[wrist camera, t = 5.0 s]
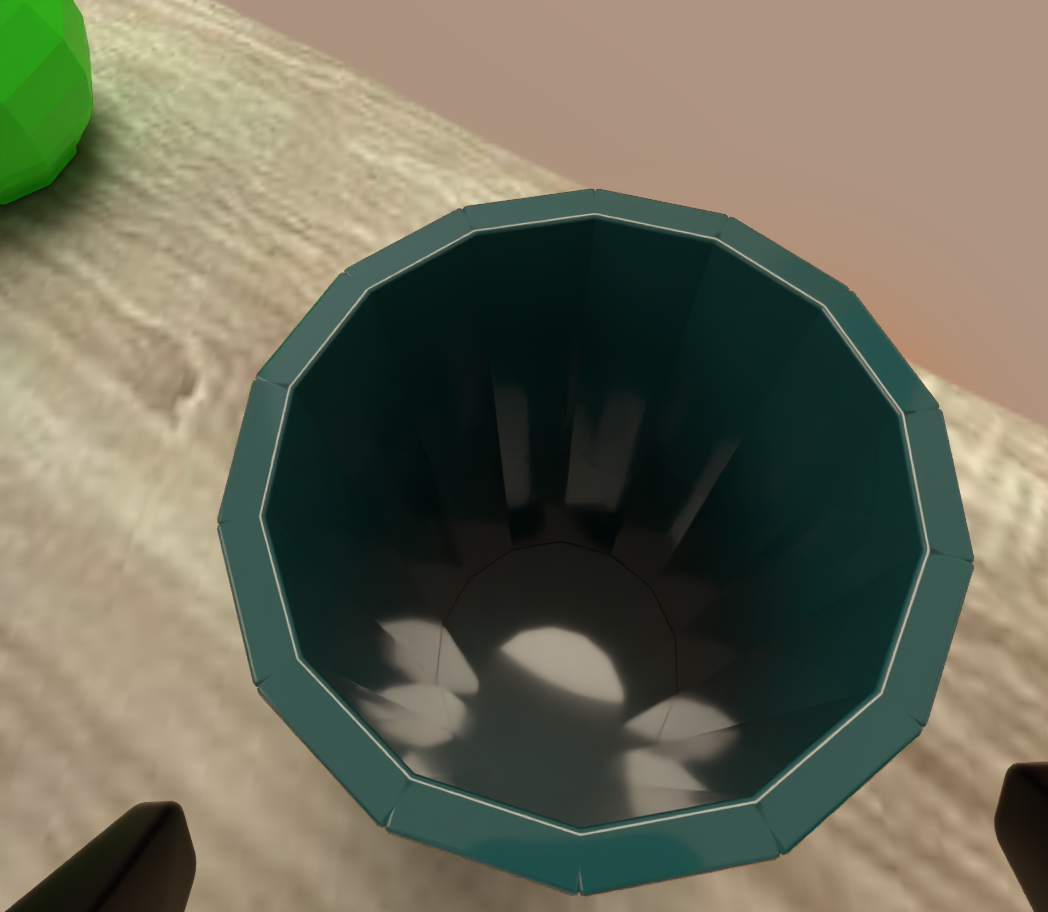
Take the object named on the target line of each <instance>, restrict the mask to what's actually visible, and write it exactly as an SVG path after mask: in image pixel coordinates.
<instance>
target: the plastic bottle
mask: <svg viewBox="0 0 1048 912" xmlns="http://www.w3.org/2000/svg"><path fill="white" fill-rule="evenodd" d="M92 106H93V99H92V81H91V63H90V51H89V46H88V41H87V36H86V30H85V25H84V20H83V16H82V14H81V13H80V11H79V9H78V8H77V6H76V4H75V3H74V1H73V0H0V205H6V204H8V203H10V202H12V201H15V200H17V199H19V198H21V197H24V196H26V195H28V194H30V193H32V192H35V191H37V190H39V189H41V188H44V187H46V186H48V185H50V184H51V183H52V182H53V181H54V180H55V178H56V177H57V176H58V175H59V174H60V172H61V171H62V170H63V169H64V168H65V166H66V165H67V164H68V163H69V162H70V160H71V159H72V158H73V157H74V156H75V155H76V153H77V151H76V144H77V143H78V142H79V140H80V138H81V136H82V133H83V131H84V129H85V128H86V126H87V125H88V123H89V120H90V115H91V111H92Z"/></svg>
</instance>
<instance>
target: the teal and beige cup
mask: <svg viewBox="0 0 1048 912" xmlns="http://www.w3.org/2000/svg"><path fill="white" fill-rule="evenodd" d="M218 524H219V525H218V528H217V532H218V536H219V540H220V544H221V549H222V553H223V557H224V561H225V566H226V570H227V574H228V578H229V583H230V587H231V591H232V595H233V600H234V604H235V608H236V613H237V617H238V621H239V625H240V630H241V634H242V638H243V642H244V647H245V651H246V655H247V659H248V664H249V668H250V672H251V676H252V681H253V684H254V685H255V686H256V687H258V688H257V690H258V693H259V695H260V696H261V697H262V698H263V700H264V701H265V702H266V703H267V704H268V705H269V706H270V707H271V708H272V710H273V711H274V712H275V713H276V714H277V715H278V716H279V717H280V718H281V720H282V721H283V722H284V723H285V724H286V725H287V726H288V727H289V728H290V730H291V731H292V732H293V733H294V734H295V735H296V736H297V737H298V738H299V740H300V741H301V742H302V743H303V744H304V745H305V746H306V747H307V748H308V750H309V751H310V752H311V753H312V754H313V755H314V756H315V757H316V758H317V759H318V761H319V762H320V763H321V764H322V765H323V766H324V767H325V768H326V769H327V771H328V772H329V773H330V774H331V775H332V776H333V777H334V778H335V779H336V781H337V782H338V783H339V784H340V785H341V786H342V787H343V788H344V789H345V791H346V792H347V793H348V794H349V795H350V796H351V797H352V798H353V799H354V801H355V802H356V803H357V804H358V805H359V806H360V807H361V808H362V809H363V811H364V812H365V813H366V814H367V815H368V816H369V817H370V818H371V819H372V821H373V822H374V823H375V824H376V825H377V826H379V827H381V828H384V827H385V830H386V831H387V832H388V833H389V834H392V835H395V836H397V837H400V838H403V839H406V840H409V841H412V842H415V843H418V844H421V845H424V846H427V847H430V848H433V849H436V850H438V851H441V852H444V853H447V854H450V855H453V856H456V857H459V858H462V859H465V860H468V861H471V862H474V863H476V864H479V865H482V866H485V867H488V868H491V869H494V870H497V871H500V872H503V873H506V874H509V875H512V876H514V877H517V878H520V879H523V880H526V881H529V882H532V883H535V884H538V885H541V886H544V887H547V888H550V889H553V890H555V891H558V892H561V893H564V894H567V895H570V896H575V895H578V893H579V894H580V895H581V896H584V897H589V896H594V895H599V894H604V893H609V892H615V891H620V890H625V889H630V888H635V887H641V886H646V885H651V884H656V883H661V882H666V881H672V880H677V879H682V878H687V877H692V876H697V875H703V874H708V873H713V872H718V871H723V870H728V869H734V868H739V867H744V866H749V865H754V864H759V863H765V862H770V861H775V860H776V859H778V858H779V857H780V855H786V854H789V853H790V852H791V851H792V850H793V849H794V848H795V847H796V846H798V845H799V844H800V843H801V842H802V841H803V840H804V839H805V838H806V837H807V836H809V835H810V834H811V833H812V832H813V831H814V830H815V829H816V828H817V827H819V826H820V825H821V824H822V823H823V822H824V821H825V820H826V819H827V818H829V817H830V816H831V815H832V814H833V813H834V812H835V811H836V810H837V809H839V808H840V807H841V806H842V805H843V804H844V803H845V802H846V801H847V800H849V799H850V798H851V797H852V796H853V795H854V794H855V793H856V792H857V791H859V790H860V789H861V788H862V787H863V786H864V785H865V784H866V783H867V782H868V781H870V780H871V779H872V778H873V777H874V776H875V775H876V774H877V773H878V772H880V771H881V770H882V769H883V768H884V767H885V766H886V765H887V764H888V763H890V762H891V761H892V760H893V759H894V758H895V757H896V756H897V755H898V754H900V753H901V752H902V751H903V750H904V749H905V748H906V747H907V746H908V745H910V744H911V743H912V742H913V741H914V740H915V739H916V738H917V737H918V736H920V734H921V732H922V730H923V729H922V728H924V727H925V725H926V724H927V722H928V719H929V716H930V712H931V709H932V706H933V702H934V699H935V695H936V692H937V689H938V685H939V682H940V679H941V675H942V672H943V669H944V665H945V662H946V659H947V655H948V652H949V649H950V645H951V642H952V639H953V635H954V632H955V629H956V625H957V622H958V619H959V615H960V612H961V609H962V605H963V602H964V599H965V595H966V592H967V589H968V585H969V582H970V579H971V575H972V572H973V569H974V567H973V564H972V563H973V561H974V555H973V551H972V546H971V541H970V537H969V532H968V527H967V523H966V518H965V514H964V509H963V504H962V500H961V495H960V490H959V486H958V481H957V477H956V472H955V467H954V463H953V458H952V453H951V449H950V444H949V440H948V435H947V430H946V426H945V421H944V416H943V412H942V411H941V410H940V409H939V404H938V402H937V401H936V400H935V398H934V397H933V396H932V394H931V393H930V392H929V391H928V389H927V388H926V387H925V385H924V384H923V383H922V381H921V380H920V379H919V377H918V376H917V375H916V373H915V372H914V371H913V369H912V368H911V367H910V365H909V364H908V363H907V362H906V360H905V359H904V358H903V356H902V355H901V354H900V352H899V351H898V350H897V348H896V347H895V346H894V344H893V343H892V342H891V340H890V339H889V338H888V337H887V335H886V334H885V333H884V331H883V330H882V329H881V327H880V326H879V325H878V324H877V322H876V321H875V320H874V318H873V317H872V315H871V314H870V313H869V311H868V310H867V309H866V307H865V306H864V305H863V304H862V302H861V301H860V300H859V298H858V297H857V296H856V294H855V293H854V292H853V291H849V288H848V287H847V286H846V285H844V284H843V283H841V282H839V281H838V280H836V279H834V278H833V277H831V276H829V275H828V274H826V273H824V272H823V271H821V270H819V269H818V268H816V267H814V266H813V265H811V264H810V263H808V262H806V261H805V260H803V259H801V258H800V257H798V256H796V255H795V254H793V253H791V252H790V251H788V250H786V249H785V248H783V247H781V246H780V245H778V244H777V243H775V242H773V241H771V240H770V239H768V238H767V237H765V236H763V235H762V234H760V233H758V232H757V231H755V230H753V229H752V228H750V227H748V226H747V225H745V224H743V223H742V222H740V221H738V220H737V219H735V218H733V217H729V218H728V216H727V215H725V214H721V213H716V212H711V211H706V210H701V209H696V208H691V207H686V206H681V205H676V204H671V203H666V202H661V201H657V200H652V199H647V198H642V197H637V196H632V195H627V194H622V193H617V192H612V191H607V190H602V189H597V190H596V191H595V190H594V189H585V190H578V191H571V192H564V193H557V194H549V195H542V196H535V197H528V198H521V199H514V200H506V201H499V202H492V203H485V204H478V205H470V206H466V207H464V208H463V209H461V208H460V209H457V210H455V211H453V212H451V213H449V214H447V215H445V216H443V217H442V218H440V219H438V220H436V221H434V222H432V223H430V224H429V225H427V226H425V227H423V228H421V229H419V230H417V231H415V232H414V233H412V234H410V235H408V236H406V237H404V238H402V239H400V240H399V241H397V242H395V243H393V244H391V245H389V246H387V247H386V248H384V249H382V250H380V251H378V252H376V253H374V254H372V255H371V256H369V257H367V258H365V259H363V260H361V261H359V262H357V263H356V264H354V265H352V266H350V267H348V268H347V269H346V270H345V272H344V273H340V274H339V275H338V277H337V278H336V279H335V280H334V281H333V283H332V284H331V285H330V286H329V287H328V289H327V290H326V291H325V292H324V294H323V295H322V296H321V297H320V298H319V300H318V301H317V302H316V303H315V304H314V306H313V307H312V308H311V309H310V311H309V312H308V313H307V314H306V315H305V317H304V318H303V319H302V320H301V321H300V323H299V324H298V325H297V326H296V327H295V329H294V330H293V331H292V332H291V334H290V335H289V336H288V337H287V338H286V340H285V341H284V342H283V343H282V344H281V346H280V347H279V348H278V349H277V351H276V352H275V353H274V354H273V355H272V357H271V358H270V359H269V360H268V361H267V363H266V364H265V365H264V366H263V367H262V369H261V370H260V371H259V372H258V374H257V375H256V380H254V381H253V383H252V386H251V390H250V394H249V398H248V402H247V405H246V409H245V413H244V417H243V421H242V425H241V429H240V433H239V437H238V441H237V444H236V448H235V452H234V456H233V460H232V464H231V468H230V472H229V476H228V480H227V483H226V487H225V491H224V495H223V499H222V503H221V507H220V511H219V515H218Z"/></svg>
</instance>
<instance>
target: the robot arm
mask: <svg viewBox="0 0 1048 912" xmlns="http://www.w3.org/2000/svg"><path fill="white" fill-rule="evenodd" d="M994 826H995V832H996V836H997V839H998V842H999V844H1000V846H1001V848H1002V850H1003V852H1004V854H1005V856H1006V858H1007V860H1008V862H1009V864H1010V866H1011V868H1012V870H1013V872H1014V874H1015V876H1016V878H1017V880H1018V882H1019V884H1020V885H1021V887H1022V889H1023V891H1024V893H1025V895H1026V897H1027V899H1028V901H1029V903H1030V905H1031V907H1032V909H1033V911H1034V912H1048V762H1028V763H1016V764H1013V765H1012V766H1011V767H1009V769H1008V770H1007V772H1006V775H1005V778H1004V782H1003V786H1002V790H1001V794H1000V798H999V801H998V805H997V809H996V813H995V818H994ZM195 871H196V855H195V851H194V847H193V843H192V840H191V836H190V833H189V829H188V826H187V822H186V819H185V815H184V812H183V809H182V807H181V806H180V805H179V804H178V803H177V802H174V801H162V802H144V803H140V804H138V805H136V806H134V807H133V808H131V809H130V810H129V811H127V812H126V813H125V814H124V815H122V816H121V817H120V818H119V819H118V820H116V821H115V822H114V823H113V824H111V825H110V826H109V827H108V828H107V829H105V830H104V831H103V832H102V833H100V834H99V835H98V836H97V837H96V838H94V839H93V840H92V841H91V842H89V843H88V844H87V845H86V846H85V847H83V848H82V849H81V850H80V851H78V852H77V853H76V854H75V855H74V856H72V857H71V858H70V859H69V860H67V861H66V862H65V863H64V864H63V865H61V866H60V867H59V868H58V869H56V870H55V871H54V872H53V873H52V874H50V875H49V876H48V877H47V878H46V879H44V880H43V881H42V882H41V883H39V884H38V885H37V886H36V887H35V888H33V889H32V890H31V891H30V892H28V893H27V894H26V895H25V896H24V897H22V898H21V899H20V900H19V901H17V902H16V903H15V904H14V905H13V906H11V907H10V908H9V909H8V910H6V911H5V912H184V911H185V908H186V905H187V901H188V898H189V895H190V891H191V888H192V885H193V881H194V877H195Z"/></svg>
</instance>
